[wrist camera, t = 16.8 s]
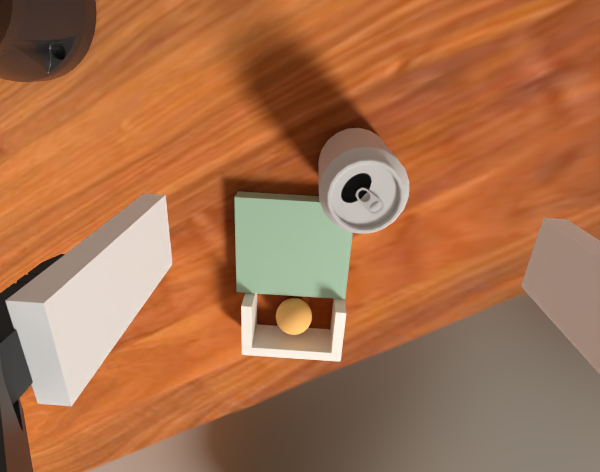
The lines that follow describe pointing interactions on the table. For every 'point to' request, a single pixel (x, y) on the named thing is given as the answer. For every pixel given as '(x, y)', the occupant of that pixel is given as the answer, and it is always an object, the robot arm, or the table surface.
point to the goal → (292, 346)
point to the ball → (293, 316)
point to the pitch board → (289, 247)
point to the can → (361, 181)
